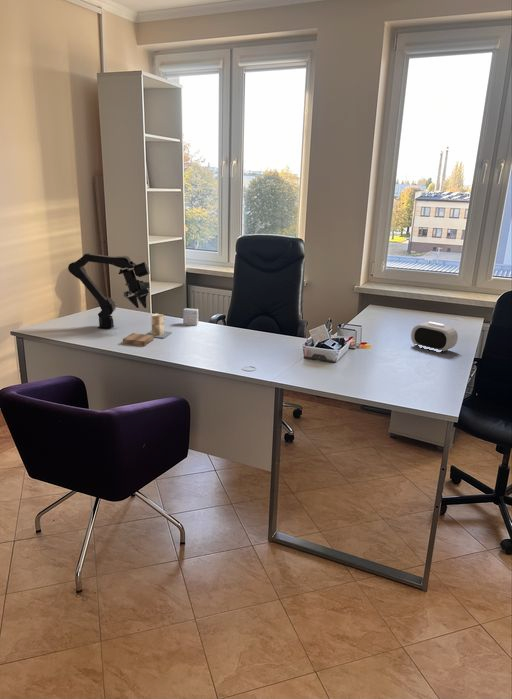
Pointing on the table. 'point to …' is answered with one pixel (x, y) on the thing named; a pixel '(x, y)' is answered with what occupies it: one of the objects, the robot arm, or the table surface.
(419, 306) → the table surface
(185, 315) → the medicine box
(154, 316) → the birch blank
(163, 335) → the slate mat
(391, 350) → the table surface
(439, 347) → the alarm clock
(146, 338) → the walnut shelf block
